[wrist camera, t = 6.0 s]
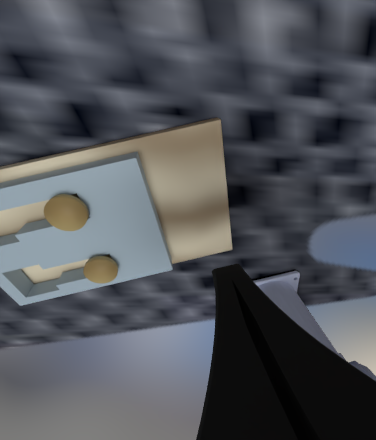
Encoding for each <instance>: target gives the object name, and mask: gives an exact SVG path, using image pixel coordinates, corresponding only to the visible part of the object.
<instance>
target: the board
mask: <svg viewBox="0 0 376 440" xmlns="http://www.w3.org/2000/svg"><path fill="white" fill-rule="evenodd" d="M137 151H138V154H139V158H140V161H141V164H142V167H143V170H144V173H145V177H146V180H147V183H148V186H149V189H150V192H151V195H152V199H153V202H154V205H155V208H156V211H157V214H158V218H159V221H160V224H161V227H162V230H163V233H164V236H165V240H166V243H167V246H168V249H169V252H170V255H171V259H172V264H173V263H177V262H182V261H186V260H190V259H194V258H199V257H203V256H207V255H211V254H216V253H220V252H224V251H228V250H232V240H231V229H230V218H229V207H228V196H227V185H226V173H225V162H224V151H223V140H222V129H221V119H219V118H213V119H209V120H204V121H200V122H195V123H191V124H187V125H182V126H178V127H173V128H169V129H165V130H160V131H156V132H151V133H147V134H143V135H138V136H134V137H129V138H125V139H121V140H116V141H112V142H107V143H103V144H99V145H94V146H90V147H85V148H81V149H77V150H72V151H68V152H63V153H59V154H55V155H50V156H46V157H41V158H37V159H33V160H28V161H24V162H19V163H15V164H11V165H6V166H2V167H0V183H2V182H6V181H10V180H15V179H19V178H23V177H28V176H32V175H37V174H41V173H45V172H50V171H54V170H59V169H63V168H67V167H72V166H76V165H80V164H85V163H89V162H94V161H98V160H102V159H107V158H111V157H115V156H120V155H124V154H129V153H133V152H137ZM88 217H89V211H88V208H87V206H86V205H85V203H84V202H83V201H81V200H80V198H79V196H78V195H77V193H76V194H72V195H68V194H59V195H56V196H54V197H52V198H51V199H50V200H46V201H41V202H37V203H33V204H28V205H24V206H20V207H15V208H11V209H7V210H2V211H0V237H1V236H5V235H10V234H14V233H17V232H18V231H19V230H20V229H21V228H22V227H23V226H24V225H25V224H26V223H31V222H35V221H39V220H44V219H46V220H47V221H48V222H49V223H50V224H51V225H52V226H54V227H55V228H57V229H60V230H63V231H76V230H79V229H81V228H82V227H83V226H84V225H85V224H86V222H87V220H88ZM79 268H84V269H83V273H84V275H85V277H86V278H87V279H88V280H90V281H92V282H95V283H108V282H111V281H113V280H114V279H115V278H116V277H117V273H118V265H117V263H116V262H115V261H114V260H113V259H112V258H111V256H110V254H108V255H103V256H96V257H93V258H91V259H86V260H82V261H78V262H73V263H69V264H65V265H61V266H56V267H52V268H48V269H44V270H43V269H42V268H41V267H40V265H34V266H30V267H26V268H22V269H21V270H22V271H23V273H24V274H25V275H26V276H27V277H28V278H29V279H30V280H31V281H32V282H33V284H37V283H41V282H46V281H50V280H54V279H58V278H60V276H61V274H62V272H67V271H71V270H75V269H79Z"/></svg>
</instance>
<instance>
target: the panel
mask: <svg viewBox="0 0 376 440" xmlns="http://www.w3.org/2000/svg"><path fill="white" fill-rule="evenodd" d="M76 193H77V195H78V196H79V198H80V200H81V201H83V202H84V203H85V205H86V206H87V208H88V211H89V217H88V220H87V222H86V224H85V225H84V226H83V227H82V228H81V229H79V230H76V231H63V230H60V229H57V228H55V227H54V226H52V225H51V224H50V223H49V222H48V221H47V220H46V219H44V220H39V221H35V222H31V223H26V224H25V225H24V226H23V227H22V228H21V229H20V230H19V231H18V232H17V233H14V234H10V235H5V236H1V237H0V287H1V288H2V289H3V290H4V291H5V292H7V293H8V294H9V295H10V296H11V297H12V298H13V299H14V300H15V301H16V302H17V303H18V304H19V305H20V306H22V305H26V304H30V303H34V302H38V301H43V300H47V299H51V298H55V297H60V296H64V295H68V294H72V293H77V292H81V291H85V290H89V289H94V288H98V287H102V286H106V285H111V284H115V283H119V282H123V281H128V280H132V279H136V278H140V277H144V276H149V275H153V274H157V273H161V272H166V271H170V270H173V268H172V259H171V255H170V252H169V249H168V246H167V243H166V240H165V236H164V233H163V230H162V227H161V224H160V221H159V218H158V214H157V211H156V208H155V205H154V202H153V199H152V195H151V192H150V189H149V186H148V183H147V180H146V177H145V173H144V170H143V167H142V164H141V161H140V158H139V154H138V151H137V152H133V153H129V154H124V155H120V156H115V157H111V158H107V159H102V160H98V161H94V162H89V163H85V164H80V165H76V166H72V167H67V168H63V169H59V170H54V171H50V172H45V173H41V174H37V175H32V176H28V177H23V178H19V179H15V180H10V181H6V182H2V183H0V211H2V210H7V209H11V208H15V207H20V206H24V205H28V204H33V203H37V202H41V201H46V200H50V199H51V198H52V197H54V196H56V195H59V194H68V195H72V194H76ZM108 254H110V256H111V258H112V259H113V260H114V261H115V262H116V263H117V265H118V273H117V277H116V278H115V279H114V280H113V281H111V282H108V283H95V282H92V281H90V280H88V279H87V278H86V277H85V275H84V273H83V269H84V268H79V269H75V270H71V271H67V272H62V274H61V276H60V278H58V279H54V280H50V281H46V282H41V283H37V284H33V282H32V281H31V280H30V279H29V278H28V277H27V276H26V275H25V274H24V273H23V271H22V270H21V269H22V268H26V267H30V266H34V265H40V267H41V268H42V269H43V270H44V269H48V268H52V267H56V266H61V265H65V264H69V263H73V262H78V261H82V260H86V259H91V258H93V257H96V256H103V255H108Z"/></svg>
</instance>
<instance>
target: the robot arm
mask: <svg viewBox="0 0 376 440" xmlns="http://www.w3.org/2000/svg"><path fill="white" fill-rule="evenodd" d="M212 274H213V280H214V286H215V293H216V318H215V335H214V345H213V354H212V361H211V369H210V375H209V381H208V386H207V392H206V397H205V402H204V407H203V413H202V417H201V422H200V426H199V430H198V435H197V439H196V440H376V376H375V375H374V374H373V373H372V372H371V371H370V370H369V369H368V368H367V367H366V366H363V365H361V364H358V363H357V362H356V361H352V362H349V363H348V362H347V361H346V360H345V359H344V357H343V356H342V355H341V353H337V351H336V350H335V348H334V347H333V346H332V344H331V342H330V341H329V340H328V338H327V337H326V335H325V334H324V332H323V331H322V329H321V328H320V326H319V325H318V323H317V322H316V321H315V319H314V318H313V316H312V315H311V313H310V312H309V310H308V309H307V307H306V306H305V304H304V303H303V302H302V300H301V299H300V297H299V296H298V294H297V289H298V283H299V277H300V273H299V272H298V271H293V272H288V273H284V274H280V275H276V276H272V277H267V278H263V279H259V280H255V281H253V280H252V279H251V278H250V277H249V276H248V275H247V273H246V272H245V271H244V270H243V268H242V267H241V266H240V265H239V264H234V265H230V266H226V267H221V268H217V269H214V270H213V271H212Z"/></svg>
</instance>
